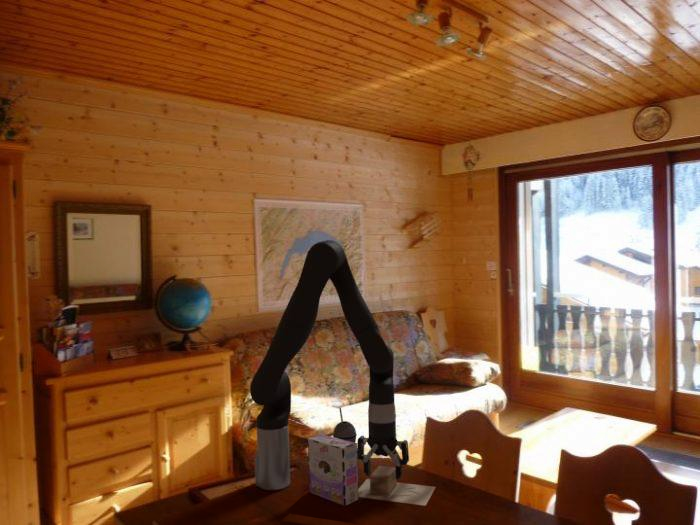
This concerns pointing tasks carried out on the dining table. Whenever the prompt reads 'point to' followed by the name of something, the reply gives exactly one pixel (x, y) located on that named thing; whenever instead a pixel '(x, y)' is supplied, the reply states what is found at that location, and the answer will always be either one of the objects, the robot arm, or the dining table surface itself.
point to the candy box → (333, 469)
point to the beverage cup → (345, 430)
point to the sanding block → (383, 481)
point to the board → (401, 493)
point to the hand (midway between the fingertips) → (383, 476)
